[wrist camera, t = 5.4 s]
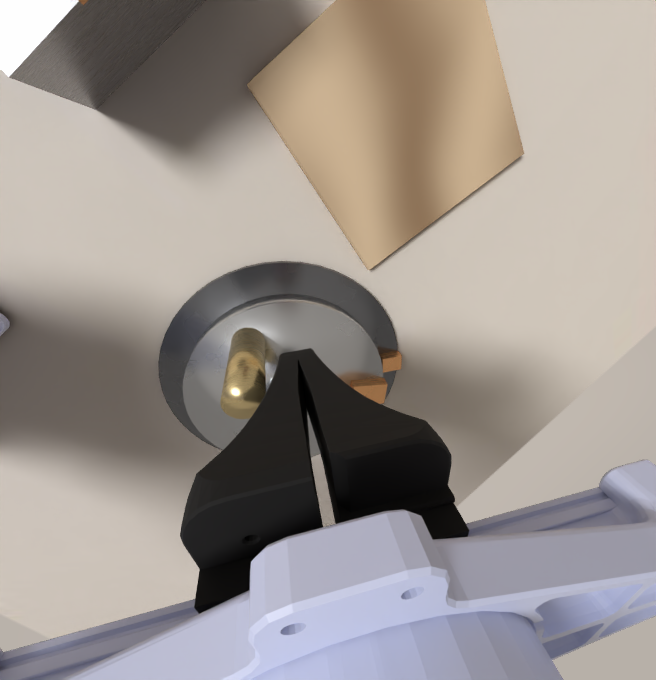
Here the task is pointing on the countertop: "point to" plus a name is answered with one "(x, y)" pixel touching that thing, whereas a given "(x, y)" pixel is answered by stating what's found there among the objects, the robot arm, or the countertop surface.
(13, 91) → the countertop surface
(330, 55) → the seat pad
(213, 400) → the brass knob plate
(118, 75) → the link block
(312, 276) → the metal parts dish
